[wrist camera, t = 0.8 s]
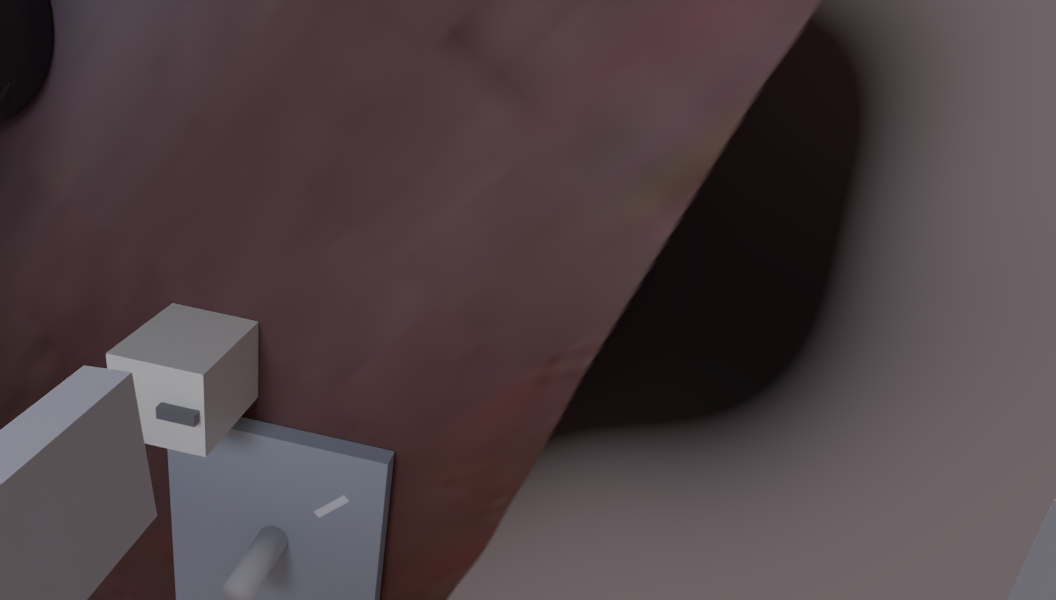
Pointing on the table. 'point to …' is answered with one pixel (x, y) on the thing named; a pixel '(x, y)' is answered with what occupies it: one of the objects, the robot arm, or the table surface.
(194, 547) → the plate
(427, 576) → the table surface
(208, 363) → the white box
